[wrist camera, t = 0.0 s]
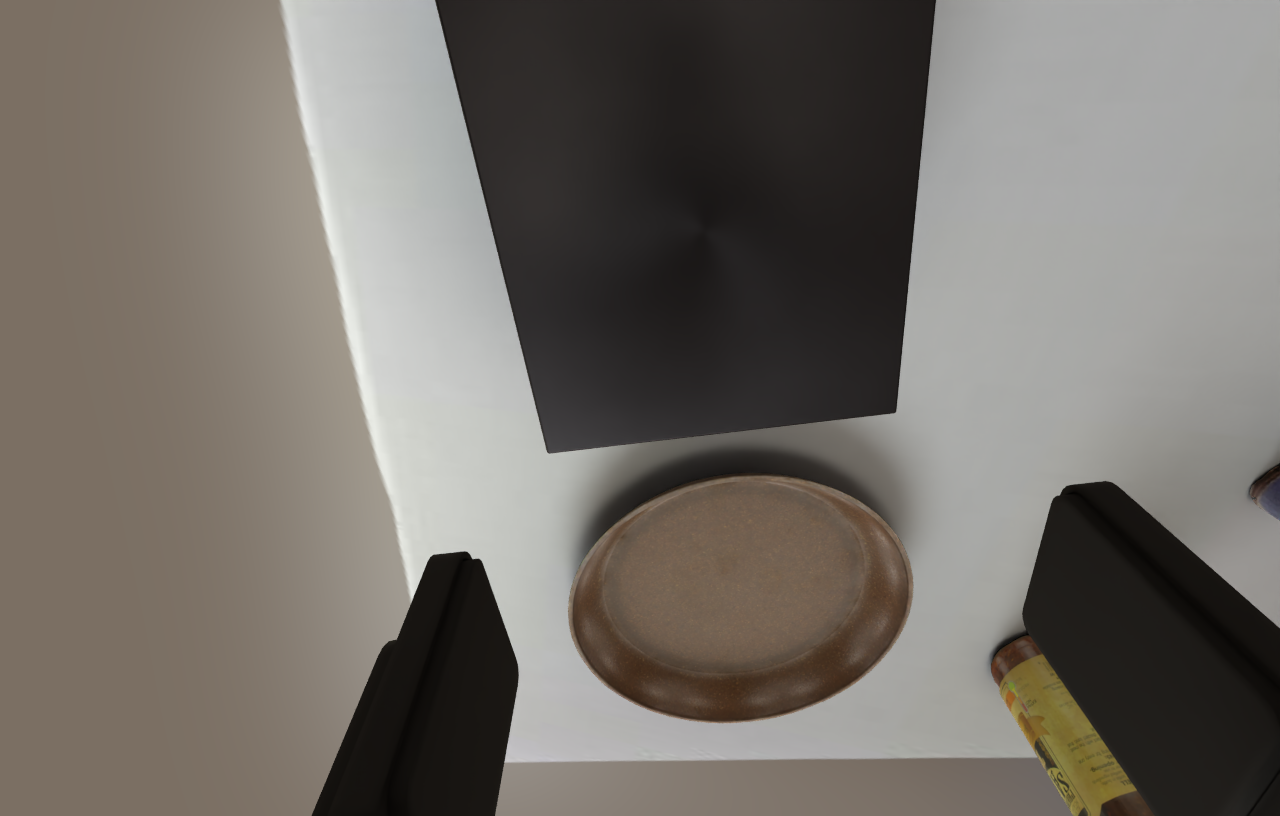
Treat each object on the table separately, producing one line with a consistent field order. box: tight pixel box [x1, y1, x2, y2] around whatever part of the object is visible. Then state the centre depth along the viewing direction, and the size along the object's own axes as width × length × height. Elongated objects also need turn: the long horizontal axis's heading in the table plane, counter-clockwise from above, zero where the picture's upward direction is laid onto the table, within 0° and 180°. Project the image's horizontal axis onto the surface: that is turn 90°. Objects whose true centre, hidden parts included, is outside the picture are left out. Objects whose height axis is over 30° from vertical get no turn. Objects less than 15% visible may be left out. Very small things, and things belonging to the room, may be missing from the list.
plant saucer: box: [568, 473, 913, 723], centre depth 38 cm, size 21×21×3 cm
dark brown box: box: [435, 0, 936, 453], centre depth 23 cm, size 15×13×10 cm
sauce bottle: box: [991, 635, 1154, 816], centre depth 35 cm, size 7×6×20 cm
